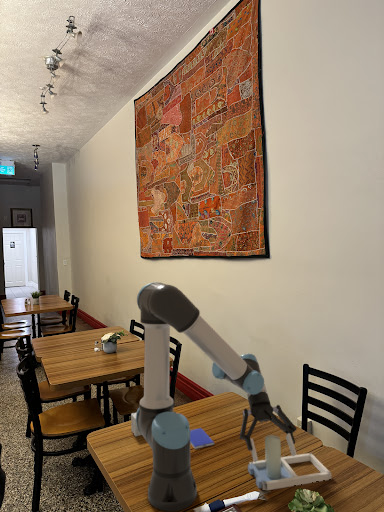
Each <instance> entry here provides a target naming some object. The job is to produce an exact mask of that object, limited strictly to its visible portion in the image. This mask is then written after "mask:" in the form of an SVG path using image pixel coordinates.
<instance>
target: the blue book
mask: <svg viewBox="0 0 384 512" xmlns="http://www.w3.org/2000/svg"><path fill="white" fill-rule="evenodd" d="M190 434H191V435H190V446H192V447H193V449H194V450H198V449H200V448H205V447H209V446H214V445H215V442H214V440H212V438H211V437H210V436H209V434H208V433H206V431H205V430H204V429H203V428H201V427H200V428H194V429H190Z"/></svg>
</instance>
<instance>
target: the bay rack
mask: <svg viewBox="0 0 384 512" xmlns="http://www.w3.org/2000/svg"><path fill="white" fill-rule="evenodd" d="M304 462H311V463H312V465H313V466H314V467H315V468H316V469H317V470H318V471H319V472H316V473H311V474H310V473H309V474H303V475H298V474H297V473H296V472H295V471H294V470H293V469H292V466H290V465H292V464H296V463H297V464H298V463H304ZM247 471H248V473H249V475H250V476H252V475H253V477H254V478H255V484H256V487H257V488H258V489H259V490H260V489H262V491H263V490H266V491H271V490H278V489H283V488H288V487H295V486H294V485H296V486H301V484H302V485H307V484H312V482H313V483H317V482H316V481H319V482H324V481H323V480H325V481H329V479H331V480H332V473H331V471H330V470H329V469H328V468H327V467H326V466H325V465H323V463H322V462H321V461H319V459H318V458H317V457H316V456H315V455H314V454H313V453H312V452H309V453H302V454H301V453H300V454H296V455H295V456H292V455H288V456H281V477H280V478H279V479H270V478H268V477H267V476H266V459H262V460H257V461H256V462H254V461H249V462H248V464H247Z"/></svg>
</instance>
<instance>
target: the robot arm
mask: <svg viewBox="0 0 384 512" xmlns="http://www.w3.org/2000/svg"><path fill="white" fill-rule="evenodd" d="M136 303H137V306H138V309H139V311H140V324H141V325H142V326H143V327H144V362H143V363H144V366H143V367H144V371H143V373H144V375H143V377H144V378H143V379H144V382H143V383H144V384H143V388H144V389H143V397H142V398H141V399H140V400H139V407H138V408H137V410H136V412H137V413H136V412H135V413H136V424H137V428H138V430H139V432H140V433H141V434H142V435H141V436H143V437H142V438H144V440H145V441H146V442H147V444H148V446H149V447H150V448H151V451H152V473H151V478H150V482H148V483H149V484H148V487H147V500H148V502H149V504H150V505H151V506H152V507H153V508H155V509H157V510H158V511H164V512H178V511H182V510H185V509H186V508H188V507H190V506H191V505H192V504H194V503H195V501H196V499H197V495H198V487H197V483H196V480H195V477H194V474H193V471H192V469H191V443H190V435H191V434H190V430H191V428H190V422H189V420H188V418H187V417H186V416H185V415H183V414H182V413H178V412H176V411H174V398H172V397H171V396H170V352H171V351H170V346H171V345H170V344H171V342H170V339H171V338H170V337H171V335H170V334H171V328H173V329H175V331H176V332H178V333H179V334H184V335H185V336H186V337H187V338H188V339H189V340H190V341H192V343H193V344H194V345H196V347H198V348H199V350H201V351H202V353H204V354H205V355H206V356H207V357H208V358H209V359H210V360H211V361H212V362H213V363H212V367H211V368H212V369H211V372H212V375H213V377H214V378H215V379H217V380H218V379H219V380H226V381H228V382H230V383H231V384H233V385H234V386H236V387H238V388H240V389H241V390H242V391H243V392H245V394H246V396H247V401H248V405H249V408H250V409H247V408H244V409H243V411H242V416H243V417H242V423H241V428H240V433H239V439H240V440H244V442H245V443H246V447H247V450H248V451H250V452H251V457H252V460H253V461H252V462H256V461H259V458H258V454H257V449H256V446H255V442H254V439H253V438H251V436H252V434H253V431H254V430H255V428H256V426H257V424H258V423H263V422H269V421H270V422H271V423H273V424H274V425H275V426H277V428H278V429H280V430H282V431H283V432H284V433H285V434H286V435H285V439H286V442H287V445H288V448H289V452H290V456H295V455H298V454H297V450H296V447H295V444H296V439H295V436H294V433H295V432H296V431H297V427H296V426H295V424H294V423H293V422H292V421H291V420H290V418H289V417H288V416H287V415H286V414H285V412H284V411H283V410H282V408H281V405H279V404H277V405H276V406H272V405H271V402H270V397H269V394H268V392H267V389H266V384H265V379H264V376H263V374H262V372H261V371H262V370H261V368H260V365H259V362H258V359H257V357H256V355H254V354H253V353H244V354H241V355H239V354H238V353H237V352H236V351H235V350H234V349H233V348H232V347H231V345H229V344H228V343H227V341H225V339H223V337H222V336H221V335H220V334H218V332H217V331H216V330H215V329H214V328H213V327H212V326H211V325H210V324H209V323H208V322H207V321H206V320H205V319H204V318H203V317H202V316H201V311H200V309H199V308H198V307H197V306H195V304H194V303H193V302H192V301H191V300H190V299H189V298H188V297H187V295H185V294H184V293H183V292H182V290H180V289H179V288H178V287H177V286H174V285H171V284H166V283H163V282H158V281H156V282H150V283H147V284H145V285H144V286H143V287H141V289H139V292H138V293H137V298H136ZM276 414H277V415H276ZM249 416H252V417H253V420H252V422H251V425H250V426H249V429H248V431H247V425H248V420H249ZM277 416H278V417H277ZM279 418H280V419H279ZM246 431H247V433H246Z"/></svg>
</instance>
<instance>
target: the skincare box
mask: <svg viewBox="0 0 384 512" xmlns="http://www.w3.org/2000/svg"><path fill="white" fill-rule="evenodd" d="M136 413H137V411H136V412H132V413H130V414H131V416H130V420H131V421H130V422H131V423H130V425H131V432H132V434H133V433H134V434H133V435H134V437H139V436H143V435H142V434H141V433H140V432H139V430H138V428H137V424H136Z"/></svg>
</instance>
